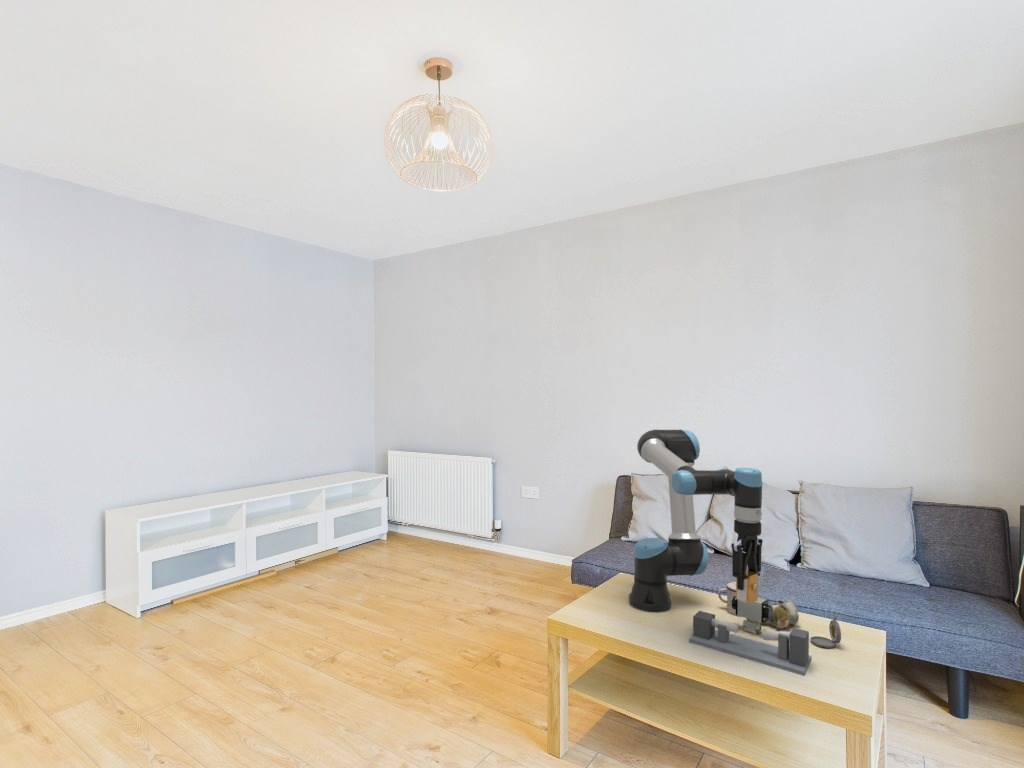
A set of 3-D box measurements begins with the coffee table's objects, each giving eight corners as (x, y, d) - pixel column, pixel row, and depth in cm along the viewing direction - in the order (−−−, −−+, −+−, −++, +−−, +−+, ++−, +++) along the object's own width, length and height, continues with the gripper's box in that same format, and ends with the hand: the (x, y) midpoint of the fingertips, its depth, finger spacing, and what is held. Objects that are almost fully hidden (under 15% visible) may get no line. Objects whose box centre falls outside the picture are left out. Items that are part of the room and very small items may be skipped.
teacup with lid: (754, 610, 194) (755, 578, 194) (752, 619, 186) (753, 585, 186) (719, 603, 200) (720, 572, 200) (716, 612, 192) (716, 579, 192)
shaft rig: (688, 641, 167) (689, 612, 168) (701, 629, 177) (701, 601, 177) (804, 675, 148) (804, 642, 148) (811, 659, 158) (811, 628, 158)
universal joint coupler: (759, 601, 160) (760, 574, 160) (751, 604, 157) (752, 576, 157) (741, 595, 164) (741, 568, 164) (733, 598, 162) (733, 571, 162)
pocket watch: (805, 641, 170) (806, 609, 170) (824, 637, 173) (824, 605, 173) (830, 652, 162) (830, 619, 162) (848, 648, 165) (848, 615, 166)
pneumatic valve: (767, 639, 170) (768, 601, 171) (731, 627, 179) (731, 591, 179) (774, 634, 174) (774, 597, 175) (737, 623, 182) (738, 587, 183)
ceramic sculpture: (807, 601, 180) (779, 611, 173) (808, 627, 180) (780, 638, 173) (778, 591, 190) (750, 601, 182) (779, 616, 189) (751, 626, 182)
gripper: (743, 526, 153) (742, 609, 153) (774, 519, 163) (773, 596, 163) (719, 521, 159) (718, 600, 159) (751, 514, 169) (750, 588, 169)
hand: (746, 598), depth 161 cm, fingers closed on universal joint coupler, 4 cm apart
